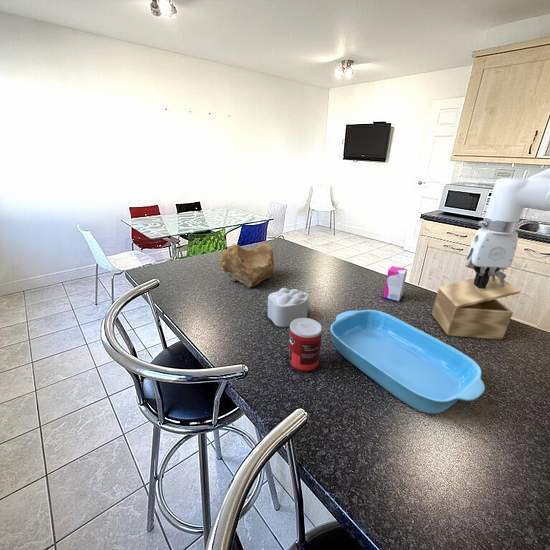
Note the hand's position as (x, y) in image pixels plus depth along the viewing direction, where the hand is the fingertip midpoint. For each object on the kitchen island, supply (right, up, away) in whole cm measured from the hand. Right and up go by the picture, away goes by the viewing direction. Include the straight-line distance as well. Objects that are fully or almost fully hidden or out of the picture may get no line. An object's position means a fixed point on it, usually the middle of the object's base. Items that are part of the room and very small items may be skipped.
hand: (479, 286), depth 86 cm
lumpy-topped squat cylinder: (-56, -10, +10) cm, 58 cm away
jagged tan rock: (-70, +1, +34) cm, 78 cm away
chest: (0, -13, +7) cm, 14 cm away
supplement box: (-16, -5, +24) cm, 29 cm away
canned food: (-53, -19, -11) cm, 58 cm away
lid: (0, -1, +2) cm, 2 cm away
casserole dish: (-30, -20, -12) cm, 38 cm away
